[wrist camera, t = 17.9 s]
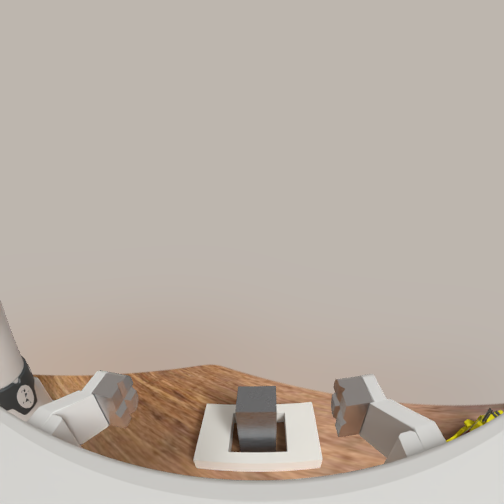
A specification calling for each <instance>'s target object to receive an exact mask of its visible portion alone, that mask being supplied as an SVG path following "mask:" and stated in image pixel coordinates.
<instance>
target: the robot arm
mask: <svg viewBox="0 0 504 504" xmlns="http://www.w3.org/2000/svg"><path fill="white" fill-rule="evenodd" d="M132 385H133V381H132V379H131V377H130V376H127V375H122V374H117V373H111V372H106V371H101V370H100V371H97V372H96V373H95V375H94V376H93V377H92V378H91V380H90V381H89V382H88V383H87V385H86V386H85V387H84V388H83V390H82V391H76V392H74V393H72V394H69V395H67V396H65V397H62V398H60V399H57V400H52V399H51V397H50V396H49V394H48V393H47V391H46V390H45V388H44V386H43V385H42V383H41V382H40V380H39V379H38V378H36V377H33V375H32V373H31V370H30V367H29V366H28V364H27V363H26V361H25V359H24V358H23V357H22V356H21V355H20V352H19V350H18V347H17V345H16V342H15V340H14V337H13V335H12V332H11V329H10V327H9V324H8V321H7V318H6V315H5V312H4V309H3V307H2V304H1V301H0V504H504V413H502V414H501V415H499V416H498V417H496V418H494V419H493V420H491V421H489V422H487V423H485V424H484V425H482V426H480V427H478V428H476V429H474V430H472V431H470V432H468V433H466V434H464V435H462V436H460V437H458V438H456V439H453V440H451V441H449V442H446V440H445V438H444V437H443V435H442V433H441V432H440V430H439V428H438V426H437V425H436V423H435V422H434V421H432V420H430V419H428V418H426V417H424V416H422V415H420V414H418V413H416V412H414V411H412V410H410V409H408V408H406V407H404V406H403V405H401V404H399V403H397V402H395V401H393V400H391V399H386V397H385V395H384V393H383V391H382V389H381V387H380V386H379V384H378V382H377V380H376V378H375V376H374V375H373V374H368V375H362V376H358V377H351V378H343V379H336V380H335V383H334V390H335V393H334V394H333V395H332V400H331V409H332V414H333V417H334V418H335V419H336V424H335V426H336V430H337V434H338V437H343V436H350V435H356V434H360V436H361V437H362V438H364V439H365V440H366V441H367V442H368V443H370V444H371V445H372V446H373V447H374V448H376V449H377V450H378V451H379V452H380V453H382V454H383V455H384V456H385V457H387V459H386V461H385V463H384V464H382V465H378V466H374V467H370V468H366V469H361V470H356V471H351V472H346V473H340V474H334V475H328V476H320V477H312V478H301V479H288V480H227V479H214V478H204V477H195V476H187V475H181V474H175V473H169V472H164V471H159V470H154V469H149V468H145V467H141V466H137V465H133V464H129V463H125V462H122V461H118V460H115V459H112V458H109V457H106V456H103V455H100V454H97V453H94V452H91V451H88V450H86V449H83V448H82V447H81V446H80V445H82V444H83V443H85V442H86V441H88V440H89V439H91V438H92V437H94V436H95V435H97V434H98V433H99V432H101V431H102V430H104V429H105V428H107V427H108V426H109V425H112V426H117V427H121V428H127V426H128V424H129V422H130V420H131V415H130V414H131V413H133V412H134V411H136V408H137V406H138V395H137V392H136V390H135V389H134V388H133V387H132Z"/></svg>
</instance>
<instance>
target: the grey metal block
mask: <svg viewBox="0 0 504 504" xmlns="http://www.w3.org/2000/svg"><path fill="white" fill-rule="evenodd" d="M235 414H236V422H237V429H238V437H239V444H240V451H241V452H276V424H277V406H276V386H259V387H238V394H237V402H236V410H235Z"/></svg>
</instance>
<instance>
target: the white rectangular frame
mask: <svg viewBox="0 0 504 504" xmlns="http://www.w3.org/2000/svg"><path fill="white" fill-rule="evenodd" d="M276 406H277V422H284V425H285V440H286V452H231V447H232V439H233V431H234V423H237V422H236V414H235V410H236V405H226V404H207V405H206V410H205V414H204V418H203V422H202V426H201V430H200V434H199V438H198V442H197V446H196V450H195V455H194V459H193V460H194V463H195V465H196V468H200V469H210V470H223V471H246V472H268V471H291V470H303V469H313V468H320V466H321V463H322V454H321V448H320V443H319V437H318V432H317V427H316V421H315V416H314V411H313V406H312V402H307V403H293V404H276Z"/></svg>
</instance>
